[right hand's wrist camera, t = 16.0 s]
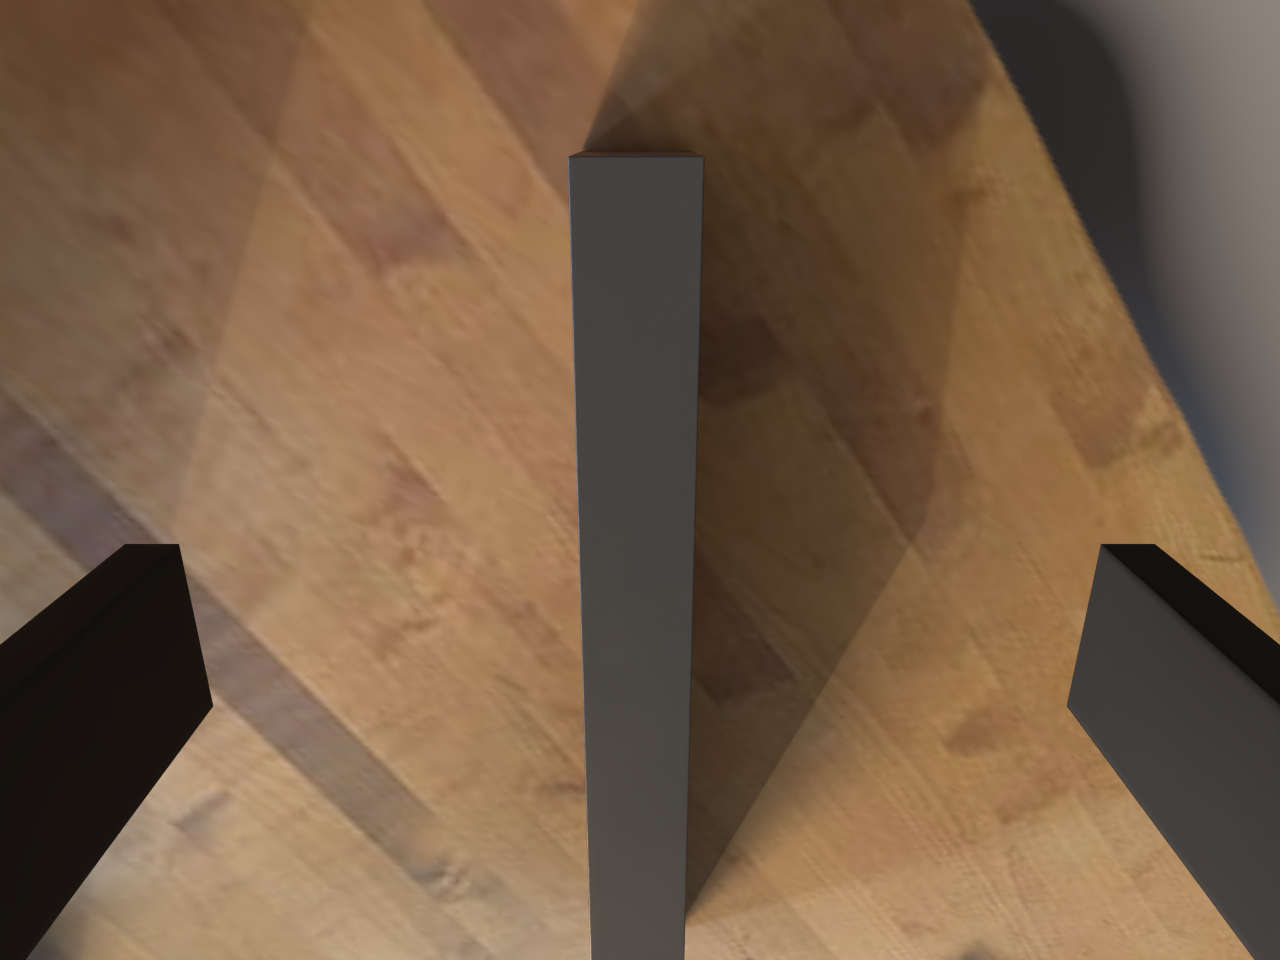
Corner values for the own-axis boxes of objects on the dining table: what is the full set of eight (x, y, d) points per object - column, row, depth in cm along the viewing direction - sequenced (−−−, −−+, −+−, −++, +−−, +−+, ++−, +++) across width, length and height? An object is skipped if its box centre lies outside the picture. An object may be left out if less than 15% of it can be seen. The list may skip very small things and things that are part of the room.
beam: (580, 151, 43) (567, 156, 35) (692, 151, 43) (704, 156, 35) (598, 932, 61) (592, 1048, 54) (676, 932, 61) (681, 1048, 54)
